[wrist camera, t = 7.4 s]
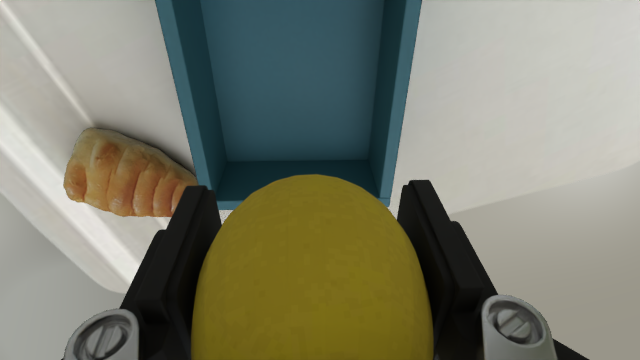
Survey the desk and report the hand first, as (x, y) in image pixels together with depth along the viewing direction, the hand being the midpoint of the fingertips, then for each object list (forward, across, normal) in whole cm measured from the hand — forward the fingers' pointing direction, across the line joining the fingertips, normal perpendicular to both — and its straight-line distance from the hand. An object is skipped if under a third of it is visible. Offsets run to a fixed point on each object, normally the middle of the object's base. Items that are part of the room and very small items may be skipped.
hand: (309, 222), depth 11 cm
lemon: (+2, 0, 0) cm, 2 cm away
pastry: (+16, +14, +8) cm, 23 cm away
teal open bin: (+16, +1, 0) cm, 16 cm away
